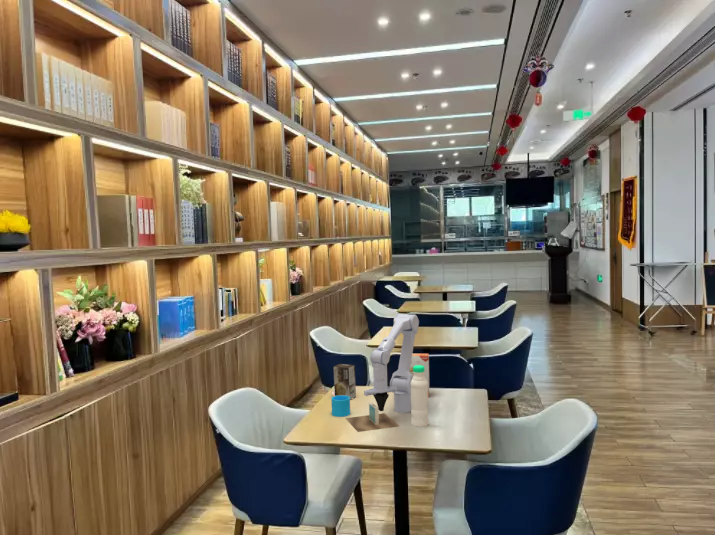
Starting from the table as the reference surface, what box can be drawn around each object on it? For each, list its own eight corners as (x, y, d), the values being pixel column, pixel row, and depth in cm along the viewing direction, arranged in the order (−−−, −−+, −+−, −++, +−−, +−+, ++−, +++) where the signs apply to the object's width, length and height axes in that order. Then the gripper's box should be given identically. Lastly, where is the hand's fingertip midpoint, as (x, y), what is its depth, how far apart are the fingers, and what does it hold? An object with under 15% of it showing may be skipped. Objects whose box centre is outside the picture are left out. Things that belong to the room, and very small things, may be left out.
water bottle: (417, 429, 212) (416, 368, 211) (408, 424, 218) (406, 365, 217) (432, 426, 215) (430, 366, 214) (422, 421, 221) (420, 363, 220)
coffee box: (356, 397, 261) (355, 364, 260) (349, 400, 255) (348, 367, 255) (340, 394, 265) (340, 363, 265) (334, 398, 260) (333, 366, 259)
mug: (346, 419, 227) (346, 401, 226) (329, 418, 229) (328, 400, 229) (355, 411, 238) (355, 393, 238) (338, 410, 241) (338, 392, 240)
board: (384, 415, 231) (384, 413, 231) (399, 428, 214) (399, 426, 214) (345, 420, 226) (345, 418, 226) (357, 434, 209) (357, 431, 209)
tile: (372, 418, 224) (372, 402, 224) (378, 424, 217) (378, 407, 216) (369, 419, 224) (368, 402, 223) (375, 425, 216) (374, 408, 216)
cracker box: (400, 397, 258) (399, 355, 258) (401, 393, 264) (400, 352, 263) (429, 397, 256) (428, 355, 255) (429, 394, 262) (428, 353, 261)
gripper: (391, 374, 227) (392, 405, 228) (360, 378, 221) (361, 410, 222) (399, 378, 221) (399, 409, 221) (367, 382, 215) (368, 415, 215)
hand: (381, 410), depth 221 cm, fingers closed
